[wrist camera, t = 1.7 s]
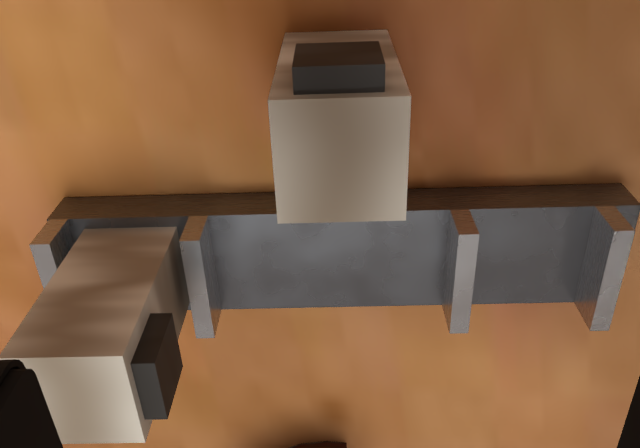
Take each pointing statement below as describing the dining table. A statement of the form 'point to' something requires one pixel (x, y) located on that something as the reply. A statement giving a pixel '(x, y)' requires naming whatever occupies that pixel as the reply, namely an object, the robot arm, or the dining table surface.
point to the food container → (321, 445)
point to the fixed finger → (108, 334)
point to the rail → (381, 250)
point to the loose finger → (339, 128)
